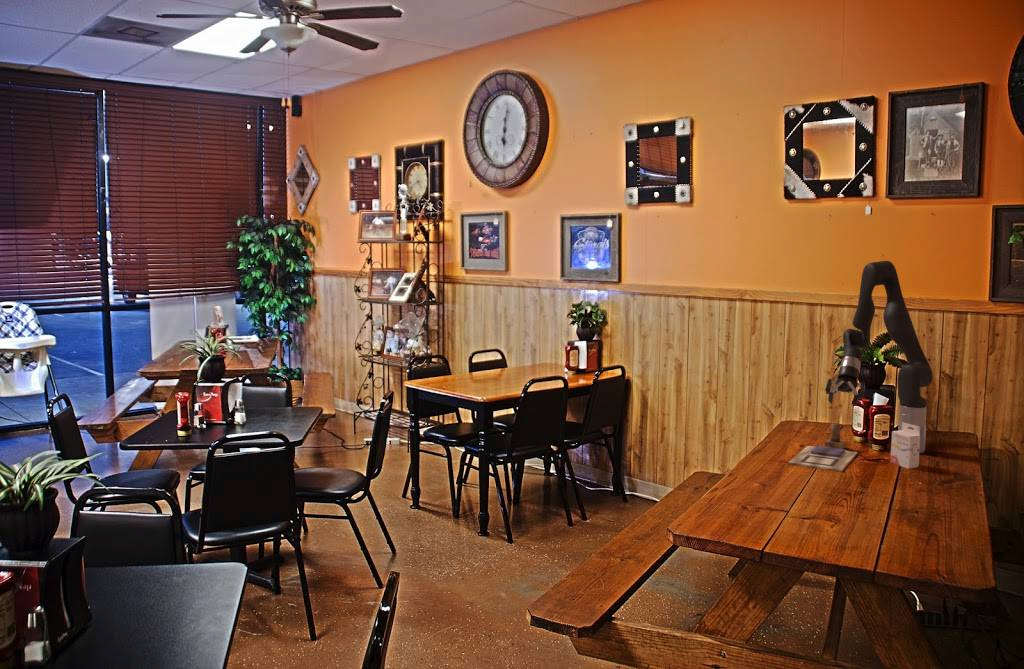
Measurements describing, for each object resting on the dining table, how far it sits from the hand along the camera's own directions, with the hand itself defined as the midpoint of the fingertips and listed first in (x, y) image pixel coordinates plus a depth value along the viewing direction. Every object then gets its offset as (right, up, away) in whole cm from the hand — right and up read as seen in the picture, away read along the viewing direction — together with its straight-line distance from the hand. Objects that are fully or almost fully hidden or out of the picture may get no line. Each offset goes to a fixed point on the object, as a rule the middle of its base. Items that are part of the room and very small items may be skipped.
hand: (842, 403), depth 329 cm
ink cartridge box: (+10, -20, -31) cm, 38 cm away
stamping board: (-16, -19, -23) cm, 33 cm away
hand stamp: (-6, -17, -7) cm, 19 cm away
